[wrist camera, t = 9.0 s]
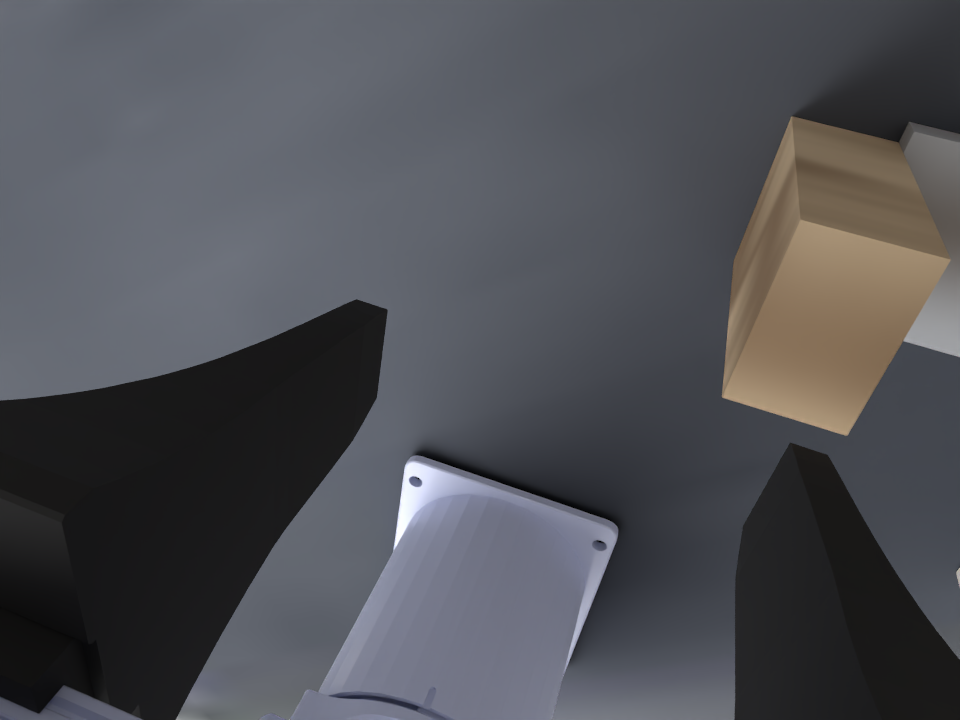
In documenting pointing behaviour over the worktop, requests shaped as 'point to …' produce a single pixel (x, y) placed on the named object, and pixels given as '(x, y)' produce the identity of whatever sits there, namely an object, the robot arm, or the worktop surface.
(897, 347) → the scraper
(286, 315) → the worktop surface
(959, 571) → the small white bench
